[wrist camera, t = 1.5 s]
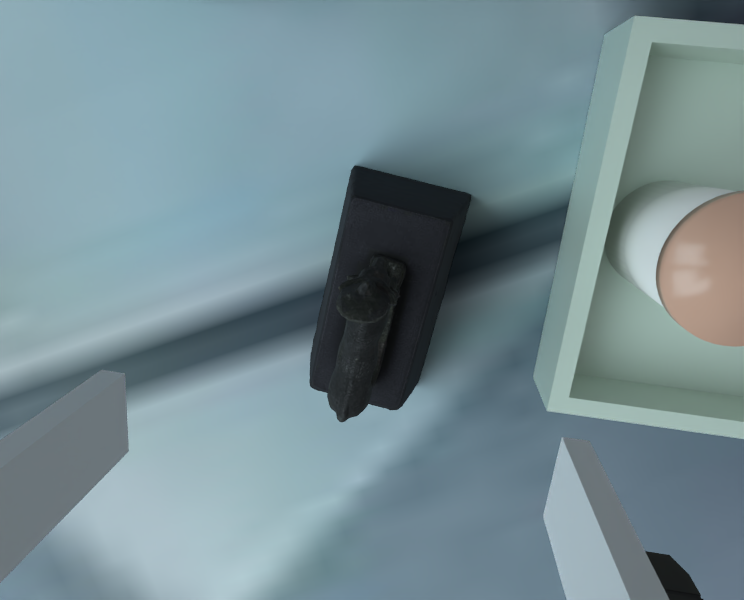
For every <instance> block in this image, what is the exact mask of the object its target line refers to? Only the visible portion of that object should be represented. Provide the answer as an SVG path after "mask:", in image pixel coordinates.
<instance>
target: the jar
mask: <svg viewBox="0 0 744 600" xmlns="http://www.w3.org/2000/svg"><path fill="white" fill-rule="evenodd" d="M604 246H605V251H606V255H607V258H608V260H609V262H610V264H611V265H612V267H613V268H614V269H615V271H616V272H617V273H618V274H620V275H621V276H622V277H623V278H625V279H626V280H627V281H629V282H630V283H631V284H633V285H634V286H635V287H637V288H638V289H639V290H641V291H642V292H644V293H645V294H646V295H648V296H649V297H650V298H652V299H653V300H654V301H656V302H657V303H658V304H660V305H661V306H663V307H664V308H665V310H666V311H667V313H668V314H669V315H670V316H671V318H672V319H673V320H674V321H676V322H677V323H678V324H679V325H680V326H681V327H683V328H684V329H685V330H687V331H688V332H690V333H691V334H693V335H694V336H696V337H698V338H700V339H702V340H704V341H707V342H710V343H713V344H717V345H722V346H733V347H737V346H744V190H743V191H731V190H726V189H720V188H714V187H708V186H703V185H697V184H691V183H685V182H680V181H671V180H665V181H657V182H652V183H649V184H646V185H643V186H641V187H639V188H637V189H636V190H634V191H632V192H631V193H629V194H628V195H627V196H626V197H624V198H623V199H622V200H621V201H620V202H619V204H618V205H617V206H616V207H615V209H614V210H613V212H612V215H611V219H610V224H609V228H608V232H607V236H606V241H605V245H604Z"/></svg>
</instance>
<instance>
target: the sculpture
mask: <svg viewBox="0 0 744 600" xmlns="http://www.w3.org/2000/svg"><path fill="white" fill-rule="evenodd" d="M470 201H471V195H470V194H468V193H465V192H460V191H456V190H452V189H448V188H444V187H440V186H436V185H432V184H428V183H424V182H420V181H416V180H412V179H408V178H404V177H400V176H396V175H392V174H388V173H384V172H380V171H376V170H372V169H368V168H364V167H359V166H354V167H353V169H352V170H351V174H350V178H349V183H348V187H347V192H346V197H345V201H344V206H343V210H342V215H341V219H340V225H339V229H338V234H337V238H336V242H335V247H334V252H333V256H332V261H331V265H330V269H329V274H328V279H327V283H326V287H325V291H324V295H323V301H322V304H321V308H320V313H319V317H318V322H317V329H316V333H315V336H314V339H313V346H312V352H311V359H310V386H311V387H312V388H313V389H316V390H318V391H323V392H326V393H328V395H327V397H328V401H329V405H330V407H331V409H332V410H334V411H335V412H336V414H337V419H338V420H339V421H340V422H344V421H346V420H347V419H348V418H351V417H355V416H357V415H359V414H360V413H361V412H362V411H363V410H364V409H365V408H366V407H367V405H368V404H371V405H375V406H378V407H383V408H387V409H389V410H398V409H399V408H400V407H402V405H403V404H404V402H405V401H406V400H407V398H408V397H409V395H410V394H411V393H412V391H413V390H414V388H415V386H416V385H417V383H418V381H419V378H420V375H421V371H422V368H423V365H424V361H425V358H426V354H427V350H428V347H429V344H430V340H431V336H432V333H433V329H434V325H435V322H436V319H437V315H438V312H439V309H440V306H441V303H442V299H443V297H444V292H445V288H446V284H447V278H448V274H449V271H450V268H451V265H452V260H453V257H454V253H455V250H456V248H457V244H458V241H459V238H460V235H461V232H462V228H463V225H464V222H465V219H466V214H467V211H468V208H469V204H470Z"/></svg>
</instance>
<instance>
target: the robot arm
mask: <svg viewBox="0 0 744 600" xmlns="http://www.w3.org/2000/svg"><path fill="white" fill-rule="evenodd" d="M128 451H129V449H128V427H127V406H126V385H125V373H118V372H112V371H105V370H100V371H99V372H98V373H96V374H95V375H93V376H92V377H90V378H89V379H88V380H86V381H85V382H83V383H82V384H80V385H79V386H78V387H76V388H75V389H73V390H72V391H70V392H69V393H67V394H66V395H65V396H63V397H62V398H60V399H59V400H57V401H56V402H55V403H53V404H52V405H50V406H49V407H47V408H46V409H45V410H43V411H42V412H40V413H39V414H37V415H36V416H35V417H33V418H32V419H30V420H29V421H27V422H26V423H25V424H23V425H22V426H20V427H19V428H17V429H16V430H14V431H13V432H12V433H10V434H9V435H7V436H6V437H4V438H3V439H2V440H0V583H1V582H2V581H3V579H4V578H5V577H6V576H7V575H8V574H9V573H10V572H11V571H12V570H13V569H14V568H15V567H16V566H17V565H18V564H19V563H20V562H21V561H22V560H23V559H24V558H25V557H26V556H27V555H28V554H29V553H30V552H31V551H32V550H33V549H34V548H35V547H36V546H37V545H38V544H39V543H40V542H41V541H42V540H43V538H44V537H45V536H46V535H47V534H48V533H49V532H50V531H51V530H52V529H53V528H54V527H55V526H56V525H57V524H58V523H59V522H60V521H61V520H62V519H63V518H64V517H65V516H66V515H67V514H68V513H69V512H70V511H71V510H72V509H73V508H74V507H75V506H76V505H77V504H78V503H79V502H80V501H81V500H82V499H83V498H84V496H85V495H86V494H87V493H88V492H89V491H90V490H91V489H92V488H93V487H94V486H95V485H96V484H97V483H98V482H99V481H100V480H101V479H102V478H103V477H104V476H105V475H106V474H107V473H108V472H109V471H110V470H111V469H112V468H113V467H114V466H115V465H116V464H117V463H118V462H119V461H120V460H121V459H122V458H123V457H124V455H125V454H126V453H127V452H128ZM543 518H544V521H545V525H546V528H547V532H548V535H549V539H550V542H551V546H552V550H553V553H554V557H555V560H556V564H557V567H558V571H559V574H560V578H561V581H562V585H563V588H564V592H565V596H566V599H567V600H703V599H701V597H700V596H701V595H700V593H699V591H698V589H697V588H696V586H695V584H694V583H693V581H692V579H691V577H690V576H689V574H688V573H687V572H686V571H685V570H684V569H683V568H682V567H681V566H680V565H679V564H678V563H677V562H676V561H675V560H674V559H673V558H672V557H671V556H670V555H665V554H659V553H653V552H646V551H645V550H644V548H643V546H642V544H641V542H640V540H639V538H638V536H637V534H636V532H635V530H634V528H633V526H632V524H631V523H630V521H629V519H628V517H627V515H626V513H625V511H624V509H623V507H622V505H621V503H620V501H619V499H618V497H617V495H616V493H615V491H614V489H613V487H612V485H611V483H610V481H609V479H608V477H607V475H606V473H605V471H604V469H603V467H602V465H601V463H600V461H599V459H598V457H597V455H596V453H595V451H594V449H593V447H592V445H591V443H590V441H586V440H579V439H572V438H565V437H562V439H561V443H560V448H559V452H558V456H557V460H556V465H555V469H554V473H553V477H552V481H551V486H550V490H549V494H548V498H547V503H546V507H545V511H544V515H543Z"/></svg>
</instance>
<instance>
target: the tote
mask: <svg viewBox="0 0 744 600" xmlns="http://www.w3.org/2000/svg"><path fill="white" fill-rule="evenodd" d="M665 180H671V181H680V182H685V183H691V184H697V185H703V186H708V187H714V188H720V189H726V190H731V191H743V190H744V25H741V24H729V23H717V22H705V21H693V20H681V19H669V18H657V17H645V16H633V17H632V18H630V19H628V20H627V21H625V22H624V23H622V24H620V25H619V26H617V27H616V28H614V29H612V30H611V31H609V32H608V33H606V34H604V39H603V44H602V49H601V53H600V58H599V63H598V68H597V72H596V77H595V82H594V87H593V92H592V96H591V101H590V106H589V111H588V116H587V120H586V125H585V130H584V135H583V140H582V144H581V149H580V154H579V159H578V163H577V168H576V173H575V178H574V183H573V187H572V192H571V197H570V202H569V207H568V211H567V216H566V221H565V226H564V231H563V235H562V240H561V245H560V250H559V254H558V259H557V264H556V269H555V274H554V278H553V283H552V288H551V293H550V298H549V302H548V307H547V312H546V317H545V322H544V326H543V331H542V336H541V341H540V345H539V350H538V355H537V360H536V365H535V369H534V374H533V378H534V381H535V383H536V386H537V388H538V390H539V393H540V395H541V398H542V400H543V403H544V405H545V407H546V410H547V411H551V412H558V413H565V414H572V415H579V416H586V417H593V418H600V419H607V420H614V421H621V422H628V423H635V424H642V425H649V426H656V427H663V428H670V429H677V430H684V431H691V432H698V433H705V434H712V435H719V436H726V437H733V438H740V439H744V346H737V347H733V346H722V345H717V344H713V343H710V342H707V341H704V340H702V339H700V338H698V337H696V336H694V335H693V334H691V333H690V332H688V331H687V330H685V329H684V328H683V327H681V326H680V325H679V324H678V323H677V322H676V321H674V320H673V319H672V318H671V316H670V315H669V314H668V313H667V311H666V310H665V308H664V307H663V306H661V305H660V304H658V303H657V302H656V301H654V300H653V299H652V298H650V297H649V296H648V295H646V294H645V293H644V292H642V291H641V290H639V289H638V288H637V287H635V286H634V285H633V284H631V283H630V282H629V281H627V280H626V279H625V278H623V277H622V276H621V275H620V274H618V273H617V272H616V271H615V269H614V268H613V267H612V265H611V264H610V262H609V260H608V258H607V255H606V251H605V246H604V245H605V241H606V236H607V232H608V228H609V224H610V219H611V215H612V212H613V210H614V209H615V207H616V206H617V205H618V204H619V202H620V201H621V200H622V199H623V198H624V197H626V196H627V195H628V194H629V193H631V192H632V191H634V190H636V189H637V188H639V187H641V186H643V185H646V184H649V183H652V182H657V181H665Z"/></svg>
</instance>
